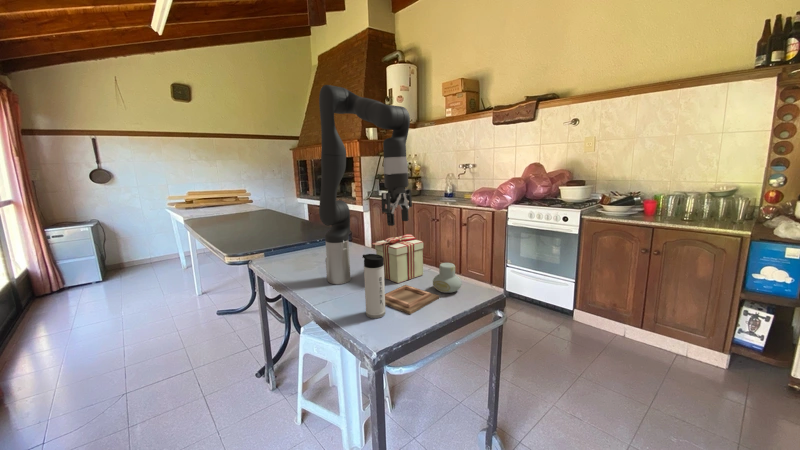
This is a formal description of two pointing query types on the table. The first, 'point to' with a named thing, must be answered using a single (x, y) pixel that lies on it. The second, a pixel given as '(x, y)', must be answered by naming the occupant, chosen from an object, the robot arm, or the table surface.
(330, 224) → the robot arm
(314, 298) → the table surface
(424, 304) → the tan square plate
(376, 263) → the travel mug
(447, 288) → the air freshener
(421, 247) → the gift box
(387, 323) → the table surface
